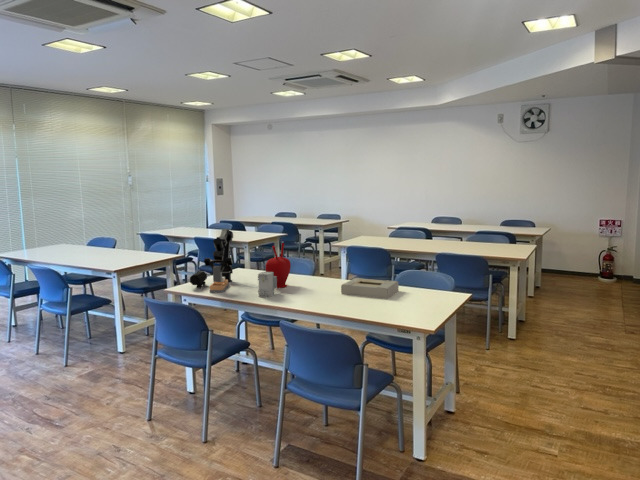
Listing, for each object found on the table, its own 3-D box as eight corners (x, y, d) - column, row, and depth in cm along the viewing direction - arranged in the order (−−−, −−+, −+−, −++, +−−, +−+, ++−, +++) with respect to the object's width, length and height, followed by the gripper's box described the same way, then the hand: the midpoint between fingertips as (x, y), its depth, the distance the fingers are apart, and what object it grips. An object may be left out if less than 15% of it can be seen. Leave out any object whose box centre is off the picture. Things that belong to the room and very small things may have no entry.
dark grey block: (214, 280, 319) (214, 266, 318) (222, 280, 319) (221, 265, 318) (213, 281, 314) (212, 267, 313) (220, 281, 314) (220, 267, 313)
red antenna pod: (277, 282, 340) (276, 242, 336) (293, 283, 336) (292, 242, 332) (264, 289, 321) (263, 246, 317) (281, 290, 316) (280, 246, 313)
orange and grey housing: (216, 285, 334) (216, 276, 333) (228, 285, 334) (228, 275, 333) (209, 292, 313) (209, 282, 312) (222, 292, 313) (222, 282, 312)
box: (340, 295, 302) (388, 299, 288) (340, 283, 301) (388, 287, 288) (353, 288, 323) (398, 291, 309) (353, 277, 322) (398, 280, 308)
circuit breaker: (278, 292, 311) (277, 270, 309) (268, 297, 297) (268, 274, 295) (267, 291, 313) (267, 269, 311) (258, 296, 300) (257, 273, 298)
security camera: (208, 283, 341) (208, 270, 339) (199, 289, 322) (199, 275, 321) (199, 283, 341) (198, 270, 340) (190, 289, 323) (189, 275, 322)
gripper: (203, 246, 318) (200, 265, 308) (231, 246, 318) (228, 264, 308) (207, 256, 326) (204, 274, 317) (233, 255, 327) (231, 274, 317)
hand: (217, 271), depth 315 cm, fingers closed on dark grey block, 5 cm apart
